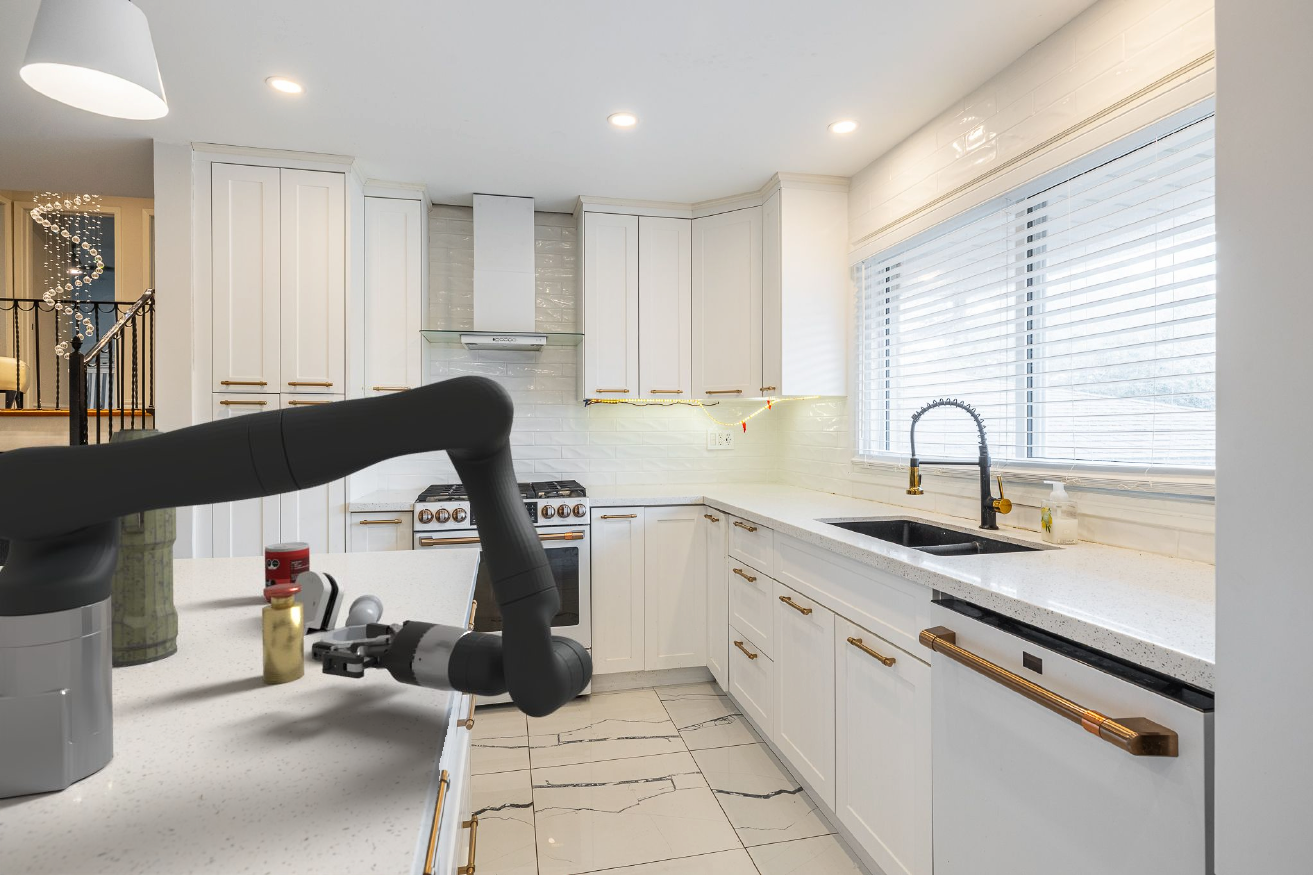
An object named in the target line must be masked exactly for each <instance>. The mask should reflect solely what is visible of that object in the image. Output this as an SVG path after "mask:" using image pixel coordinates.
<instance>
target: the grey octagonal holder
mask: <svg viewBox="0 0 1313 875" xmlns="http://www.w3.org/2000/svg"><path fill="white" fill-rule="evenodd" d="M383 612H384V605H383V602H382V601H381V600H380V598H379V597H377V596H375V595H371V594H364V595H361V596H359V597H357V598H356V599H355V600H354V601H353V602H352V604H351V605H350V606H349V610H348V616H347V618H346V620H345V626H342V627H340V628H336V629H335V628H334V630H328V631H327V632H324V634H323V635H322V637H321V638H320V639H319V640H320V641H319V642H325V643H331V644H337V645H345V644H352V643H353V641H354V640H358V639H367V638H366V625H367V624H369V623H378V622H379V621H380V620H381V618H382V616H383ZM342 652H346V653H351V652H350V651H342ZM359 653H360V654H361V655H364V658H365V646H360V647H359Z"/></svg>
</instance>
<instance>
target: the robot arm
mask: <svg viewBox="0 0 1313 875" xmlns="http://www.w3.org/2000/svg"><path fill="white" fill-rule="evenodd" d="M514 409H515V408H514V402H513V399H512V396H511V395H510V393H509V391H508V390H507V389H506V388H505V387H504V386H503V385H502V384H500V383H499V382H498V381H496V380H493V379H492V378H489V377H485V376H481V375H461V376H457V377H453V378H448V379H444V380H440V381H436V382H433V383H430V384H429V383H428V384H426V385H422V386H419V387H414V388H411V389H405V390H402V391H396V392H393V393H389V394H384V395H378V396H377V395H376V396H370V397H363V398H353V399H346V400H337V401H331V402H323V403H322V402H321V403H318V404H311V405H310V404H309V405H303V406H294V407H293V406H292V407H291V406H290V407H285V408H279V409H271V410H267V411H266V410H265V411H258V412H253V413H252V412H251V413H247V414H242V415H238V416H237V415H236V416H232V417H228V418H222V419H218V420H217V419H216V420H212V421H207V422H204V423H199V424H195V425H190V426H186V427H182V428H178V429H175V430H171V431H165V432H164V433H162V434H158V435H154V436H149V437H145V438H140V439H134V440H128V441H121V442H113V443H109V442H105V443H104V442H103V443H95V444H94V443H93V444H81V445H47V446H45V445H43V446H42V445H41V446H27V447H18V448H15V449H14V448H13V449H9V450H7V451H4V452H2V453H0V539H1V540H2V539H3V540H8V541H9V549H8V554H7V557H6V559H5V562H4V564H3V566H2V568H1V569H0V799H3V798H9V797H11V798H12V797H17V796H25V795H32V794H38V793H45V792H52V791H53V792H54V791H60V790H65V789H67V788H68V787H69V786H70V785H72V784H73V783H75V782H77V781H79V780H81V779H83V778H86V777H89V776H91V775H92V774H94V773H96V772H98V771H99V770H101V769H103V768H104V767H105V766H107V765H108V764H109V763H110V762H111V761H112V759H113V758H114V717H113V716H114V715H113V713H114V712H113V711H114V710H113V703H114V702H113V666H112V632H111V623H112V620H111V581H112V577H113V574H114V572H115V569H116V566H117V563H118V558H119V541H120V517H123V516H127V515H131V514H136V513H140V512H145V511H151V510H156V509H164V508H173V507H176V508H181V507H182V508H183V507H194V506H195V507H196V506H202V505H203V506H204V505H213V504H221V503H230V502H237V501H244V500H245V501H247V500H252V499H260V498H265V497H270V496H277V495H282V494H287V493H293V492H298V491H302V490H308V489H312V488H315V487H319V486H323V485H326V484H329V483H332V482H335V481H338V480H341V479H343V478H345V477H347V476H351V475H352V474H356V473H358V472H359V471H362V470H364V469H366V468H369V467H371V466H374V465H376V464H379V463H381V462H384V461H387V460H390V459H391V460H392V459H393V458H397V457H403V456H408V455H409V456H410V455H414V454H422V453H429V452H430V453H431V452H439V451H445V452H446V454H447V456H448V457H449V460H450V462H451V463H452V466H453V468H454V470H455V471H456V473H457V476H458V477H459V480H460V483H461V484H462V487H463V490H464V492H465V494H466V498H467V500H468V502H469V505H470V509H471V512H472V514H473V518H474V523H475V526H476V530H477V534H478V538H479V542H480V547H481V551H482V556H483V560H484V564H485V568H486V572H487V575H488V580H489V583H490V585H491V588H492V589H491V590H492V592H493V596H494V599H495V603H496V606H497V607H498V608H497V609H498V613H499V614H500V619H501V635H498V634H493V633H486V632H480V631H475V630H470V629H467V628H464V627H460V626H456V625H455V626H454V625H448V624H447V625H445V624H439V623H434V622H425V621H419V620H418V621H416V620H409V619H408V620H404V621H402V624H399V623H395V622H394V623H391V624H384V623H378V622H377V623H369V624H367V625H366V638H367V639H358V640H354V641H353V643H352V644H345V645H337V644H331V643H325V642H320V641H317V642H313V643H312V645H311V660H313V661H317V662H322V664H321V665H322V669H321V672H322V674H325V675H330V676H332V675H333V676H338V677H343V678H344V677H345V678H351V679H361V678H364V677H365V670H367V669H376V670H387V672H388V673H389V674H390V675H391V677H392V678H393V679H394V680H395V681H397V682H398V683H402V684H406V685H410V686H416V687H419V688H426V689H432V690H438V691H443V692H457V693H463V694H470V695H474V696H480V697H497V696H501V695H503V694H507V693H508V695H509V697H510V698H511V700H512V702H513V703H514V705H515V706H516V708H518V709H519V711H520V712H522V713H523V714H524V715H526V716H529V717H532V718H537V719H538V718H544V717H547V716H549V715H551V714H553V713H555V712H557V710H559V709H560V708H562V707H563V706H564V705H566V704H567V703H570V702H571V701H572V700H573V699H574V698H576V697H578V696H579V695H580V694H582V693H583V692H584V691H585V690H586V688H587V687H588V686H589V684H590V683H591V680H592V677H593V672H594V664H593V660H592V656H591V654H590V653H589V651H588V650H587V648H585V647H584V646H583V645H582V643H580V642H578V641H577V640H575V639H572V638H570V637H567V636H562V635H552V630H551V624H552V620H553V619H554V618H555V616H556V615H557V614H558V613H559V612H560V609H561V599H560V595H559V591H558V588H557V586H556V582H555V579H554V578H555V577H554V575H553V573H552V572H553V571H552V568H551V566H550V562H549V560H548V557H547V553H546V551H545V548H544V545H543V542H542V540H541V538H540V535H539V533H538V531H537V528H536V526H535V524H534V522H533V520H532V518H531V516H530V514H529V511H528V508H527V507H526V504H525V502H524V498H523V497H522V493H521V490H520V488H519V484H518V480H517V477H516V473H515V469H514V463H513V456H512V455H513V454H512V449H511V442H510V437H511V432H512V426H513V423H514V414H515V410H514ZM360 646H365V658H364V655H361V654H360V653H359V647H360ZM342 651H350V652H351V653H346V652H342Z"/></svg>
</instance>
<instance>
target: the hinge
mask: <svg viewBox="0 0 1313 875" xmlns="http://www.w3.org/2000/svg"><path fill="white" fill-rule="evenodd" d="M295 583H296V584H301V591H300V592H298V593H296V594H294V602H301V603H303V626H304V637H306V635H307V633H308V630H309V628H311V629H316V630H320V629H321V628H324V629H325V630H326V631H332V630H335V627H336V624H337V621H338V620H337V619H338V617H339V614H340V609H341V607H342V603H343V599H344V596H345V587H344V586H343V583H342V582H341V580H340V579H339V578H338V577H336V576H334V575H332V574H330V573H327V572H321V571H317V570H310V571H306V572H303V573H300V574H299V575H298V577H297V579H296V582H295Z"/></svg>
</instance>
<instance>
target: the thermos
mask: <svg viewBox="0 0 1313 875" xmlns="http://www.w3.org/2000/svg"><path fill="white" fill-rule="evenodd" d="M162 433H165V431H159V428H119V430H118V431H113V432H112V435H111V438H110V440H109V442H108V443H113V442H121V441H128V440H134V439H140V438H145V437H149V436H154V435H158V434H162ZM176 540H177V507H173V508H164V509H156V510H151V511H145V512H140V513H136V514H131V515H127V516H123V517H120V541H119V558H118V563H117V566H116V569H115V572H114V574H113V577H112V581H111V620H112V623H111V632H112V667H132V666H138V665H139V666H140V665H144V664H149V663H153V662H157V661H160V660H165V659H167V658H168V657H169V658H170V657H171V656H173V655H175V654H176V653H177V652H178V645H177V637H178V636H179V614H178V611H177V608H176V606H175V604H174V544H175V542H176Z"/></svg>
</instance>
